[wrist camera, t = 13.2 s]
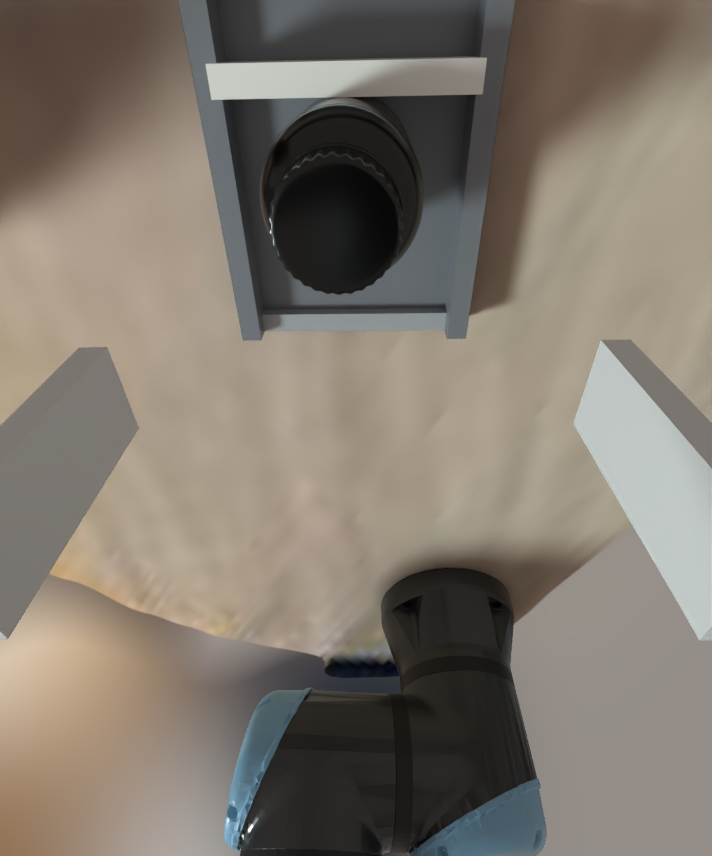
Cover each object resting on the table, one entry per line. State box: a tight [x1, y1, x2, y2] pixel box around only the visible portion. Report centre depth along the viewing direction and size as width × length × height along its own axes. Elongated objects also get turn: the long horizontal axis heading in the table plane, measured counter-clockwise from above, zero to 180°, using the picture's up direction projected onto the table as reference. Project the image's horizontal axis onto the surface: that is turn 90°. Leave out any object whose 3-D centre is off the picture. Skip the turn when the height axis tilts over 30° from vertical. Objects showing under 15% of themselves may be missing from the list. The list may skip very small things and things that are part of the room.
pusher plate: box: [205, 56, 487, 100], centre depth 21 cm, size 1×11×5 cm, turn 92°
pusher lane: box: [178, 0, 515, 340], centre depth 24 cm, size 20×15×5 cm
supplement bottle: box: [260, 97, 424, 295], centre depth 21 cm, size 7×7×12 cm
